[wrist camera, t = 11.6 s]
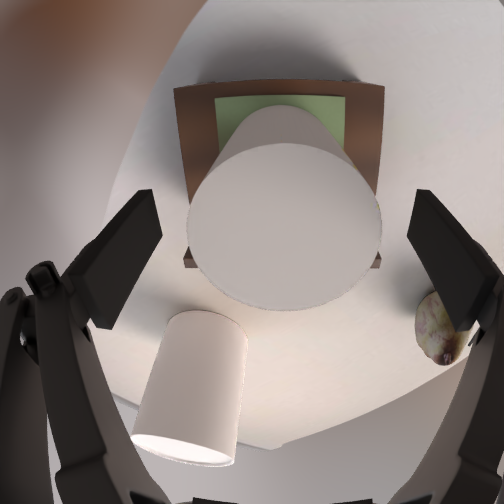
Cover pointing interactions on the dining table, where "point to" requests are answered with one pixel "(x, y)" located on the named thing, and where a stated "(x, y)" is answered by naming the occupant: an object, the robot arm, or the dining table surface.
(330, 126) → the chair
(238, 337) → the canister
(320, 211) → the white round cylinder
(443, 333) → the fruit
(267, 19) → the dining table surface
